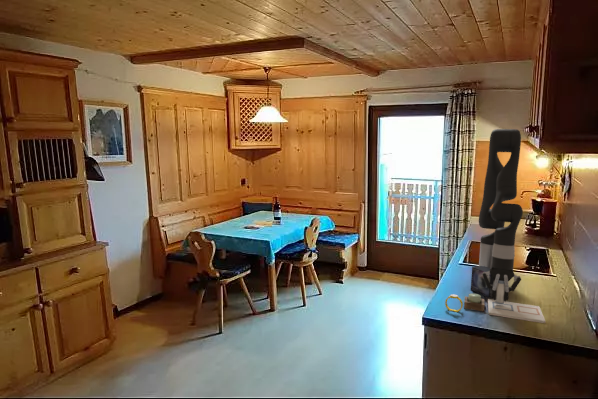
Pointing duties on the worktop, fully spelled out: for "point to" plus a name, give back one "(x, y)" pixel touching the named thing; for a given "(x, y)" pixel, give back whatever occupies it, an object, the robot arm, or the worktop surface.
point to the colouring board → (516, 311)
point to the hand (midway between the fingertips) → (499, 299)
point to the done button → (474, 298)
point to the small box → (481, 281)
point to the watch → (453, 297)
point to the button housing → (474, 305)
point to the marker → (500, 292)
